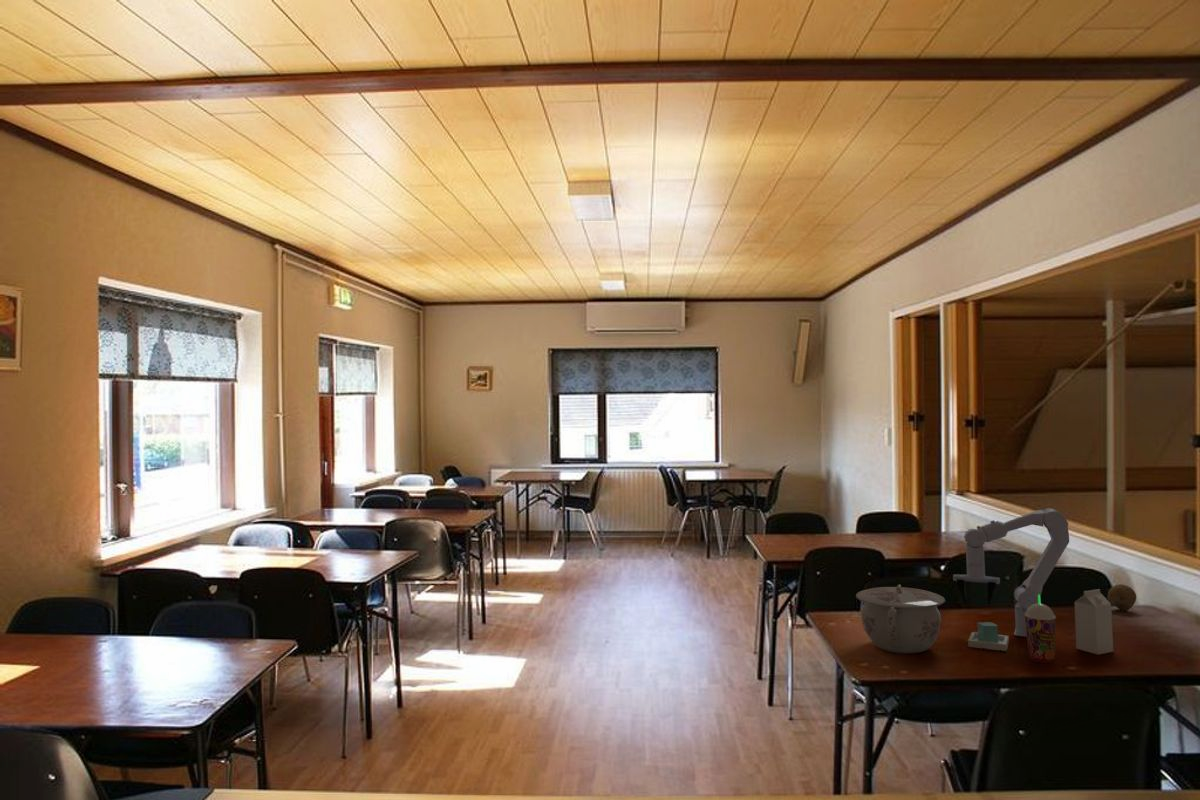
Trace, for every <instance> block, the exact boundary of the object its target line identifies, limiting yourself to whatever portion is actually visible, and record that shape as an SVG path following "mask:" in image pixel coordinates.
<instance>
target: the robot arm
mask: <svg viewBox="0 0 1200 800" xmlns="http://www.w3.org/2000/svg"><path fill="white" fill-rule="evenodd" d="M1029 526H1038V527H1045V528H1046V529H1047V532H1048V535H1049V537H1050V540H1049V541H1048V543H1047V545H1046V547H1045V549H1044V550H1043V552H1042V554H1041V555H1040V556H1039V558H1038V560H1037V562H1036V564H1035V565H1034V567H1033V568H1032V570H1031V571H1030V574H1029V576H1028V577H1027V578H1026V579H1025V580H1024V581H1023V582H1022V584H1021V585H1019V586H1018V587H1016V588H1015V589H1014V592H1013V596H1014V599H1015V600H1016V601H1017V602H1016V604H1015V605H1014V616H1015V617H1014V619H1015V629H1014V633H1013V635H1014V636H1015V637H1026V638H1027V631H1026V622H1025V615H1024V614H1025V613H1026V611H1027V609H1028V608H1029V607H1030V606H1031V605H1033V604H1036V603H1038V595H1040V596H1041V594H1042V593H1043V587H1044V585H1045V584H1046V582H1047V580H1048V579H1049V576H1050V575H1051V574H1052V572H1053V570H1054V568H1055V566H1056V565H1057V564H1058V561H1059V560H1060V558H1061V557H1062V555H1063V553H1064V552H1065V551H1066V548H1067V547H1068V545H1069V543H1070V535H1069V533H1070V532H1069V522H1068V520H1067V518H1066V516H1065V515H1064V514H1063V513H1062V512H1060V511H1058V510H1057V509H1055V508H1051V507H1047V508H1043V509H1038V510H1033V511H1032V512H1029V513H1026V514H1023V515H1021V516H1018V517H1016V518H1013V519H1010V520H1007V521H1005V522H1002V521H999V520H996V521H995V520H993V519H992V520H991V521H990V523H987V524H985V525H981V526H980V525H977V526H976V528H969V529H968V530H967V531H965V534H964V536H963V537H964V540H965V542H966V545H965V548H966V550H965V558H966V560H965V561H966V562H965V563H966V574H953V575H952V580H953V581H954V582H956V586H957V588H958V589H959V591H960V594H961V596H962V601H963V603H967V591H966V590H967V589H966V588H967V583H966V582H970V583H983V584H984V583H985V584H987V605H988V606H989V605H991V604H992V598H993V593H994V591H995V588H996V586H997V585H1000V584H1001V580H1000V577H998V576H997V577H996V576H990V575H989V576H988V575H986V565H985V563H986V562H985V561H986V560H985V551H984V545H985V543H989V542H993V541H996V540H999V539H1002V538H1005V537H1006V536H1007V534H1008V533H1009V532H1011V531H1015V530H1018V529H1022V528H1026V527H1029Z"/></svg>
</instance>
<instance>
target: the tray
mask: <svg viewBox="0 0 1200 800" xmlns="http://www.w3.org/2000/svg"><path fill="white" fill-rule="evenodd" d="M1009 636H1010V635H1004V634H998V643H995V642H986V641H978V631H977V632H976V631H971V633H970V636H969V638H968V639H967V640H968V641H967V642H968V647H969V648H973V649H974V648H976V649H977V648H978V649H983V648H984V650H992V651H1000V650H1001V651H1003V652H1007V651H1008V648H1009V647H1008V646H1009V643H1010V641H1009V640H1010V639H1009V638H1010V637H1009ZM985 648H986V649H985Z"/></svg>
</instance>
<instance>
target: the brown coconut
mask: <svg viewBox="0 0 1200 800" xmlns="http://www.w3.org/2000/svg"><path fill="white" fill-rule="evenodd" d="M1107 600H1108V601H1109V602H1110V603H1111V606H1114V607H1116V608H1117V609H1118V610H1120V611H1121V612H1127V611H1129V610H1130V609H1132V608H1133V606H1135V603H1136V601H1137V593H1136V592H1135V590H1134V589H1133V588H1132V587H1131V586H1128V585H1126V584H1115V585H1114V586H1111V588H1109V590H1108V592H1107Z"/></svg>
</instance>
